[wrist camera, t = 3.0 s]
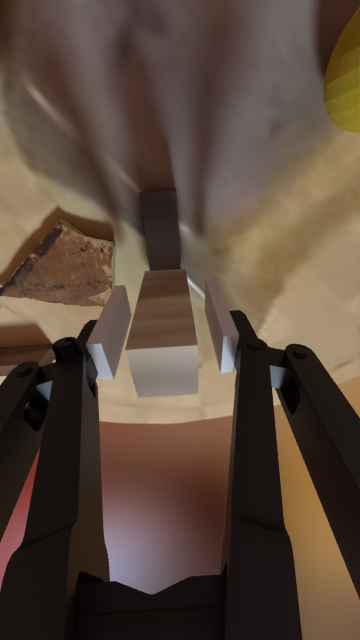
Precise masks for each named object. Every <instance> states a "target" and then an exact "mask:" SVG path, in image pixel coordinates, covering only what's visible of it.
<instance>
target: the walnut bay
mask: <svg viewBox="0 0 360 640" xmlns="http://www.w3.org/2000/svg"><path fill="white" fill-rule="evenodd" d="M51 345H52V344H51ZM51 345H35V346H20V347H4V348H0V376H8V374H9V373H10V372H11V371H12V370H13V369H14V368H15V367H17V366H18V365H20V364H22V363H24V362H28V361H36V362H38V363H39V365H40V367H41V366H44V365H48V364H51V363H52V362H53V360H54V359H55V358H54V357H53V355H52V353H51V351H50V350H49V349H50V347H51Z"/></svg>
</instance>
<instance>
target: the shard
mask: <svg viewBox="0 0 360 640" xmlns="http://www.w3.org/2000/svg"><path fill="white" fill-rule="evenodd" d="M116 251H117V250H116V246H115V245H114V242H112V241H107V240H102V239H96V238H92V237H89V236H85V235H84V234H83V233H82V232H80V231H79V230H78V229H76V228H75V227H74V226H72V225H71V224H70V223H68V222H67V221H65V220H62V219H58V220H57V221H56V223H55V225H54V226H53V227H52V228H51V230H50V231H49V232H48V233H47V234H46V235H45V236H44V237H43V239H42V240H41V241H40V243H39V244H38V245H36V246H35V248H34V249H33V250H32V252H31V253H30V254H29V255H28V256H27V257H26V258H25V259H24V260H23V261H22V263H21V264H20V265H19V266H18V267H17V269H16V270H15V271H14V273H13V274H12V276H11V277H10V280H9V281H8V282H7V283H6V284H5V285H4V286H3V287H1V288H0V296H7V297H14V298H28V299H35V300H40V301H45V302H50V303H62V304H66V305H78V306H87V307H95V306H100V307H105V305H106V303H107V301H108V299H109V297H110V295H111V293H112V291H113V289H114V287H115V276H114V275H115V263H116V260H115V259H116V257H115V256H116Z"/></svg>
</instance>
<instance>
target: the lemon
mask: <svg viewBox="0 0 360 640" xmlns="http://www.w3.org/2000/svg"><path fill="white" fill-rule="evenodd" d="M324 103H325V106H326V110H327V113H328V115H329V117H330V118H331V120H332V121H333V122H334V123H335V124H336V125H338V126H339V127H341V128H342V129H344V130H347V131H352V132H356V133H360V6H359V7H358V9H357V10H356V12H355V13H354V15H353V16H352V18H351V19H350V21H349V22H348V24H347V25H346V27H345V28H344V30H343V32H342V34H341V36H340V38H339V40H338V42H337V44H336V46H335V48H334V50H333V52H332V55H331V58H330V61H329V64H328V67H327V70H326V75H325V82H324Z"/></svg>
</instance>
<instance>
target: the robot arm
mask: <svg viewBox="0 0 360 640" xmlns="http://www.w3.org/2000/svg"><path fill="white" fill-rule="evenodd" d="M205 313H206V317H207V321H208V325H209V329H210V333H211V337H212V341H213V345H214V349H215V353H216V357H217V361H218V365H219V369H220V373H227V372H234V367H235V368H236V371H237V374H236V381H235V397H234V410H233V423H232V436H231V449H230V461H229V475H228V487H227V501H226V514H225V526H224V536H223V544H222V554H221V566H220V575H207V576H191V577H188V578H186V579H184V580H182V581H180V582H178V583H176V584H174V585H172V586H170V587H168V588H166V589H164V590H162V591H160V592H158V593H156V594H153V595H150V594H147V593H144V592H142V591H139V590H137V589H134V588H131V587H129V586H126V585H124V584H121V583H118V582H116V581H112V582H110V576H109V561H108V554H107V549H106V545H105V541H104V532H103V509H102V508H103V507H102V482H101V457H100V435H99V434H100V432H99V408H98V386H97V383H96V378H97V375H99V378H100V380H114V377H115V374H116V370H117V367H118V363H119V359H120V356H121V352H122V348H123V345H124V341H125V337H126V334H127V330H128V327H129V323H130V319H131V316H132V315H131V311H130V306H129V302H128V297H127V293H126V288H125V285H122V286H115V287H114V289H113V291H112V293H111V295H110V297H109V299H108V301H107V303H106V305H105V307H104V309H103V311H102V313H101V315H100V317H99V319H98V320H90V321H89V322H88V323H86V324H85V325H84V327H83V329H82V330H81V332H80V334H79V336H78V337H77V339H76V338H75V337H65V338H62V339H60V340H58V341H56V342H55V343H53V344H52V345H51V347H50V349H49V350H50V351H51V353H52V355H53V357H54V358H55V360H56V362H54V363H51V364H48V365H44V366H41V367H40V365H39V363H38V362H36V361H28V362H24V363H22V364H20V365H18V366H17V367H15V368H14V369H13V370H12V371H11V372H10V373H9V374H8V376H7V377H6V378H5V380H4V381H3V382H2V384H1V385H0V542H1V539H2V537H3V534H4V532H5V530H6V527H7V525H8V522H9V520H10V517H11V515H12V513H13V510H14V508H15V505H16V503H17V501H18V498H19V496H20V493H21V491H22V489H23V486H24V484H25V481H26V479H27V477H28V474H29V472H30V469H31V467H32V465H33V462H34V460H35V457H36V455H37V452H38V450H39V448H40V452H39V458H38V464H37V468H36V474H35V479H34V485H33V490H32V496H31V501H30V507H29V512H28V518H27V523H26V530H25V534H24V538H23V541H22V543H21V545H20V547H19V548H18V549H17V550H16V551H15V552H14V553H13V554H12V556H11V558H10V560H9V562H8V564H7V567H6V571H5V574H4V577H3V581H2V586H1V591H0V640H302V632H301V623H300V613H299V604H298V594H297V585H296V576H295V566H294V558H293V551H292V545H291V541H290V537H289V535H288V533H287V531H286V529H285V525H284V518H283V507H282V496H281V485H280V473H279V462H278V451H277V440H276V429H275V417H274V406H273V395H272V387H275V389H276V392H277V394H278V397H279V399H280V402H281V404H282V407H283V409H284V412H285V414H286V417H287V419H288V422H289V424H290V427H291V429H292V432H293V434H294V437H295V439H296V442H297V444H298V446H299V449H300V452H301V454H302V457H303V459H304V461H305V464H306V466H307V469H308V472H309V474H310V477H311V479H312V482H313V484H314V487H315V489H316V491H317V494H318V497H319V499H320V502H321V504H322V507H323V509H324V512H325V514H326V517H327V519H328V522H329V524H330V527H331V529H332V532H333V534H334V537H335V539H336V542H337V544H338V546H339V549H340V552H341V554H342V557H343V559H344V561H345V564H346V566H347V569H348V572H349V574H350V577H351V579H352V582H353V584H354V587H355V589H356V592H357V594H358V596H359V598H360V418H359V416H358V415H357V414H356V412H355V411H354V409H353V408H352V406H351V405H350V404H349V402H348V401H347V399H346V398H345V397H344V395H343V393H342V392H341V391H340V389H339V388H338V386H337V385H336V383H335V382H334V381H333V379H332V378H331V376H330V375H329V373H328V372H327V370H326V369H325V368H324V366H323V365H322V363H321V362H320V360H319V359H318V358H317V356H316V355H315V353H314V352H313V351H312V350H311V349H310V348H308V347H306V346H303V345H300V344H290V345H288V346H286V349H285V350H281V349H275V348H270V347H268V346H267V344H266V343H265V342H264V341H263V340H261V339H258V337H257V335H256V334H255V332H254V330H253V328H252V326H251V325H250V322H249V320H248V318H247V317H246V315H245V314H244V313H243V312H242V311H240V310H236V311H229V310H228V307H227V305H226V303H225V300H224V298H223V296H222V293H221V291H220V289H219V286H218V284H217V281H216V280H206V287H205ZM27 403H28V404H27ZM26 405H27V406H26ZM40 445H41V446H40Z"/></svg>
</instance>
